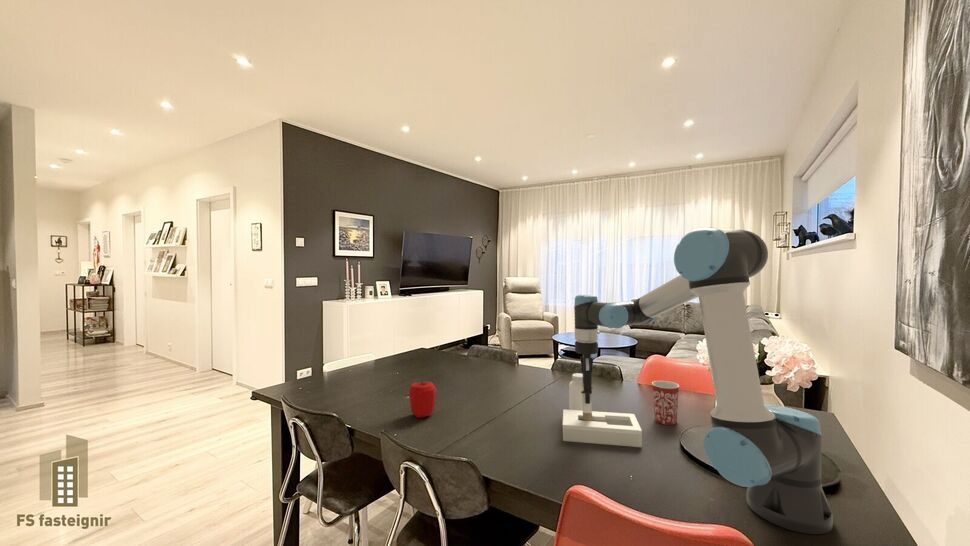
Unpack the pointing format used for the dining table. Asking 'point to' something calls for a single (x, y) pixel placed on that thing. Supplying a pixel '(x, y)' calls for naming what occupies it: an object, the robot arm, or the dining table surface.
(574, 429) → the keyhole board
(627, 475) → the dining table surface
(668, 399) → the mug
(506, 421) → the dining table surface
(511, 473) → the dining table surface
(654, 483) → the dining table surface
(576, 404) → the pill bottle
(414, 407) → the red cylinder
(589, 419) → the peg
